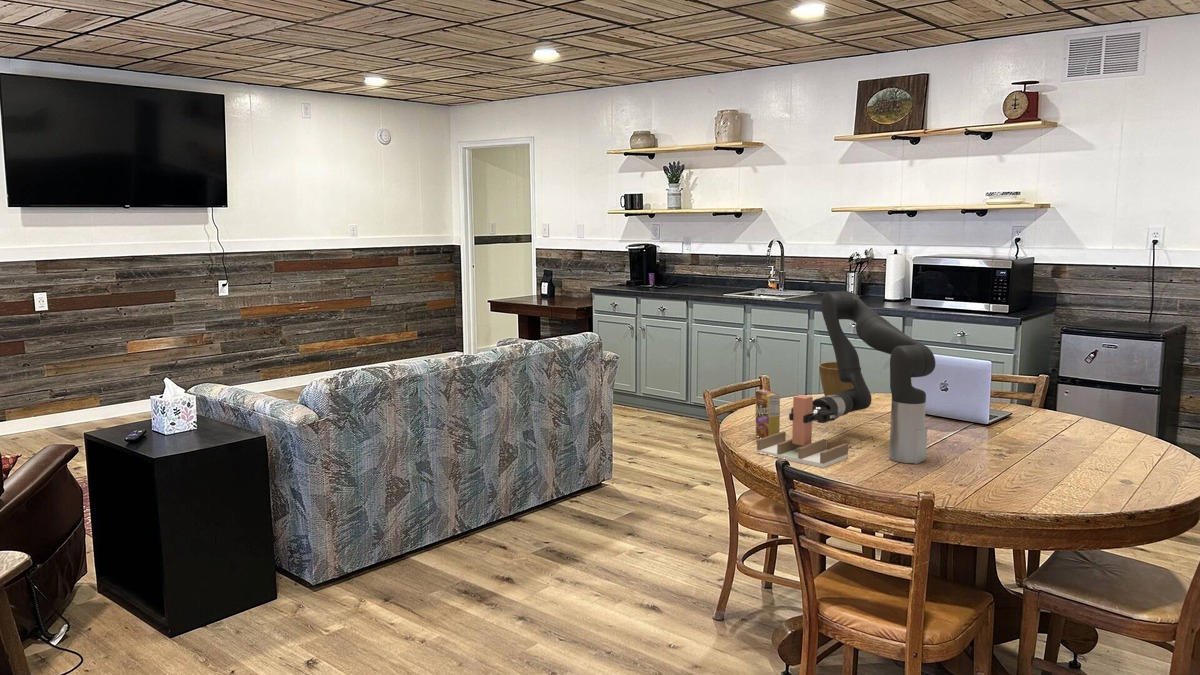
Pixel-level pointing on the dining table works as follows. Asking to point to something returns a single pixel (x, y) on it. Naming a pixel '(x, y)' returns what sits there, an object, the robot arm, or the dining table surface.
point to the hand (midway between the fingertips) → (797, 418)
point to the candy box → (767, 413)
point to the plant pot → (832, 379)
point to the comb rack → (802, 450)
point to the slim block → (800, 429)
